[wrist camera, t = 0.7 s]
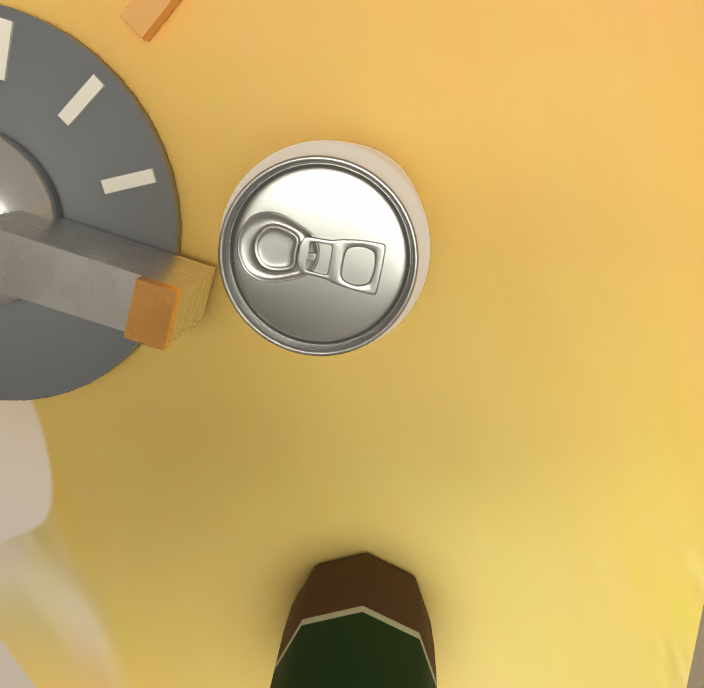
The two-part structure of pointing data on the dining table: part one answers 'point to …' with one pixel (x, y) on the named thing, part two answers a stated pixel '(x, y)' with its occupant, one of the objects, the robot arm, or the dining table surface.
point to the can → (324, 247)
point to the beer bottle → (357, 630)
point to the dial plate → (77, 191)
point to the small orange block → (148, 15)
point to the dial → (89, 263)
